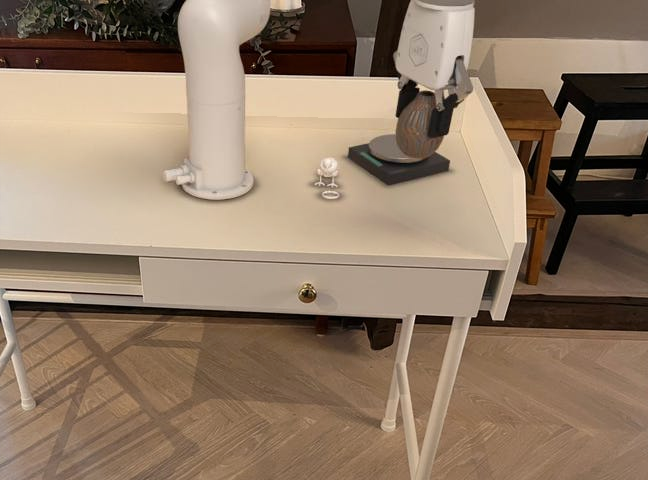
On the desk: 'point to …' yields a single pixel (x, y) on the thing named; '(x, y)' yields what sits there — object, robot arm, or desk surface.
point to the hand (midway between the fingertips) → (421, 125)
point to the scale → (397, 165)
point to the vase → (417, 127)
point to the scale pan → (389, 150)
